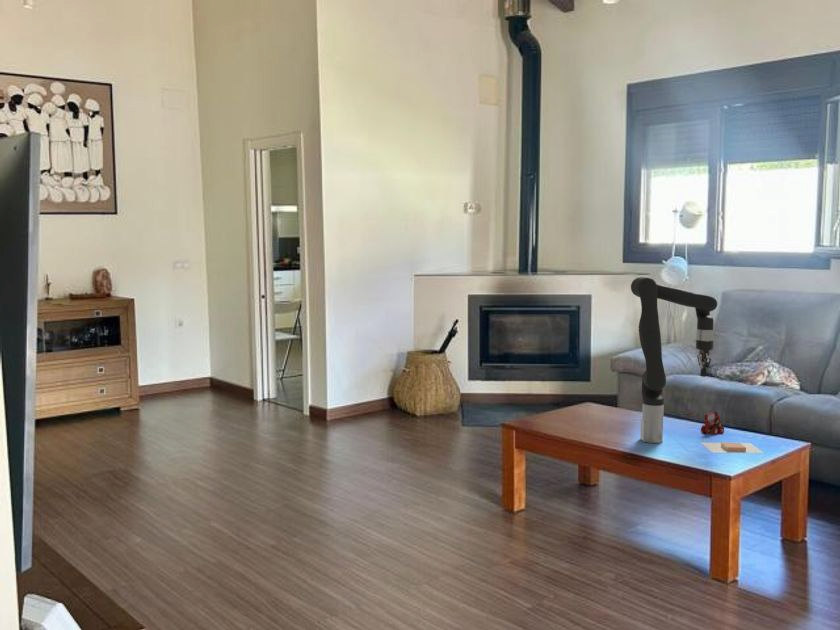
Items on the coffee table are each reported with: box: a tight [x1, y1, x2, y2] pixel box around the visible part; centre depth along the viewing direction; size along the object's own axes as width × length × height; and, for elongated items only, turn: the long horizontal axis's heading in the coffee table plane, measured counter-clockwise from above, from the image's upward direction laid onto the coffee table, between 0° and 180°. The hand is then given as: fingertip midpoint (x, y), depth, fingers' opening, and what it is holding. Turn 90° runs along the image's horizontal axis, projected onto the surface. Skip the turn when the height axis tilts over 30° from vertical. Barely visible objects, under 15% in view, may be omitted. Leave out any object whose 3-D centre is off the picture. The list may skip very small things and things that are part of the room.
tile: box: [720, 442, 746, 451], centre depth 343 cm, size 8×2×8 cm
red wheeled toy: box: [700, 411, 725, 435], centre depth 372 cm, size 7×12×10 cm, turn 129°
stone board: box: [700, 442, 764, 454], centre depth 345 cm, size 22×16×1 cm
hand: (703, 376), depth 362 cm, fingers closed
